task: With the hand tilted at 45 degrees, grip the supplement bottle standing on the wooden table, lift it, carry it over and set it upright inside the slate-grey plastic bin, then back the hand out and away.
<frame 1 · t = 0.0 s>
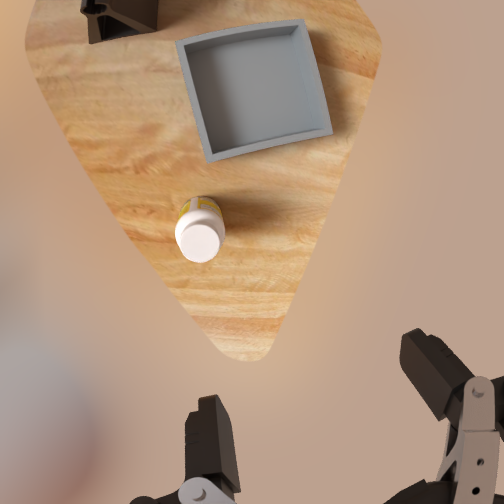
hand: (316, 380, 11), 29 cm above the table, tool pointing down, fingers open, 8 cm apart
supplement bottle: (201, 216, 38), on the table
phone stand: (124, 18, 26), on the table
bin: (251, 89, 33), on the table
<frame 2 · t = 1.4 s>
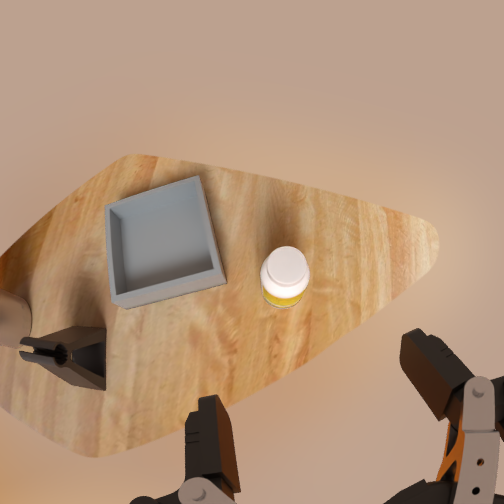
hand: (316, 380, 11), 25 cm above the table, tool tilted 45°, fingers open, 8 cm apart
supplement bottle: (282, 289, 39), on the table
phone stand: (89, 357, 37), on the table
bin: (165, 248, 42), on the table
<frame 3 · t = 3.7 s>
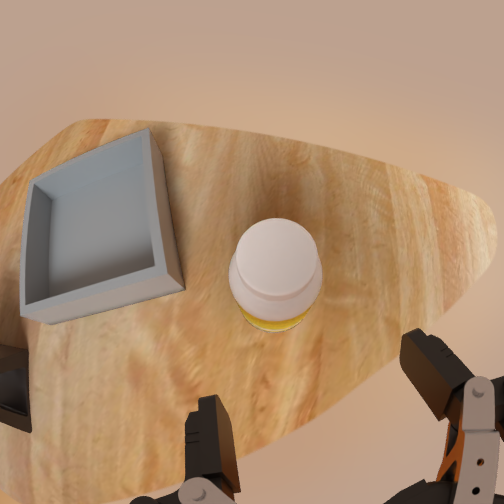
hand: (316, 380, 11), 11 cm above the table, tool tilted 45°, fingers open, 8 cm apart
supplement bottle: (274, 299, 24), on the table
phone stand: (13, 387, 21), on the table
bin: (102, 236, 26), on the table
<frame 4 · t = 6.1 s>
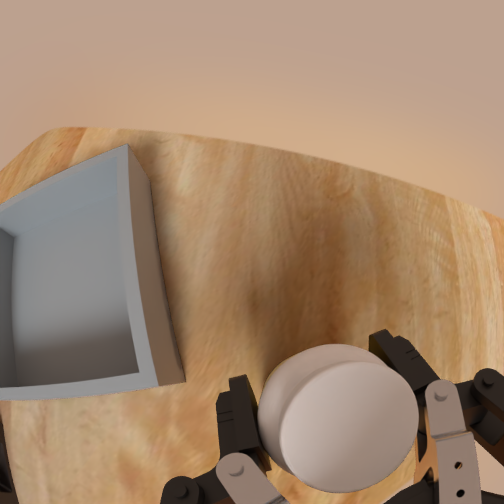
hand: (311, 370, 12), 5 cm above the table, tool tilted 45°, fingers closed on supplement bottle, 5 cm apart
supplement bottle: (309, 396, 16), on the table, touching gripper
bin: (73, 295, 19), on the table
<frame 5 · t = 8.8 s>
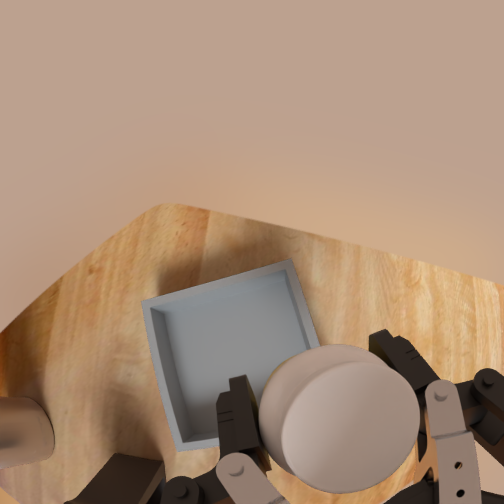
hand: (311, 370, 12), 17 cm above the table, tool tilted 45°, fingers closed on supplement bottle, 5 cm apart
supplement bottle: (309, 396, 16), point 12 cm above the table, touching gripper
phone stand: (144, 489, 24), on the table
bin: (240, 360, 29), on the table
when the fingers open (7 cm above the table, at t = 11.8 s): supplement bottle drops 1 cm, resting on bin.
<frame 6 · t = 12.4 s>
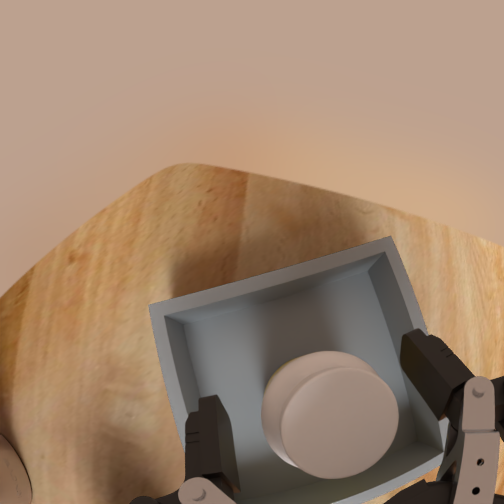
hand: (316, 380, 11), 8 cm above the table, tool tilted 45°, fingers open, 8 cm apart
supplement bottle: (307, 396, 17), point 1 cm above the table, touching bin
bin: (305, 392, 18), on the table
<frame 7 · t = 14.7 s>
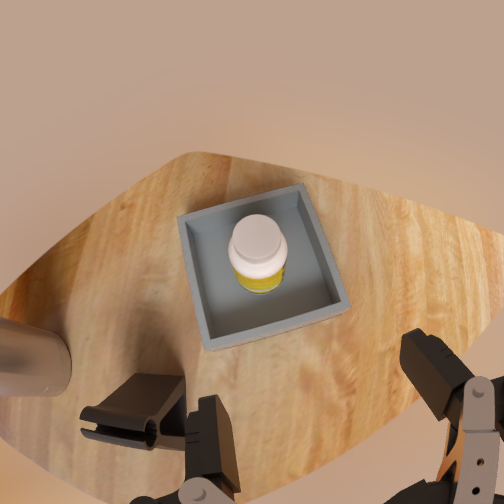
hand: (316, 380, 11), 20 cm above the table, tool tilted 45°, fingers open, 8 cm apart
supplement bottle: (260, 272, 34), point 1 cm above the table, touching bin
phone stand: (162, 412, 29), on the table
bin: (260, 272, 34), on the table
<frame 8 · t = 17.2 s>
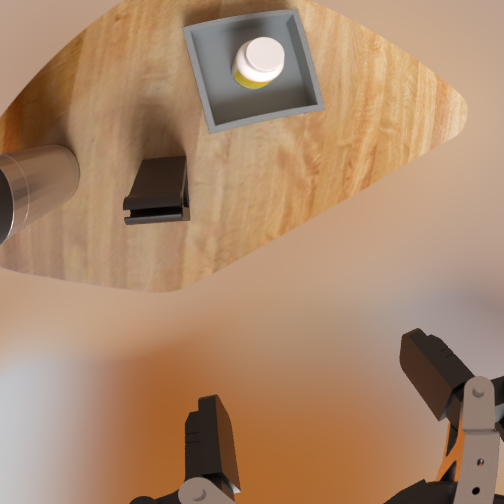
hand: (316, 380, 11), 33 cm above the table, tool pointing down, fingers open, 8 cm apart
supplement bottle: (251, 72, 34), point 1 cm above the table, touching bin
phone stand: (166, 189, 40), on the table
bin: (250, 71, 35), on the table
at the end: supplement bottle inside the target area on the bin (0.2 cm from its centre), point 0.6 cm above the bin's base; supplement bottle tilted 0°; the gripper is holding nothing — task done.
